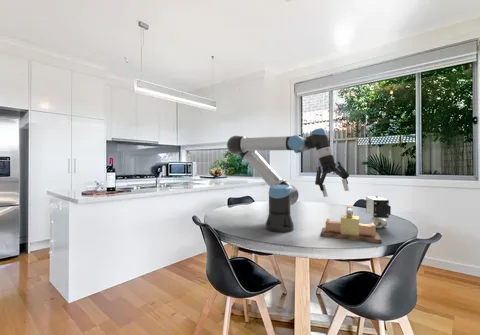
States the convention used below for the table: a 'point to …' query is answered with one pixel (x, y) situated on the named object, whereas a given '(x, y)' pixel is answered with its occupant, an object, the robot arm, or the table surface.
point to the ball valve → (378, 210)
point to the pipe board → (350, 237)
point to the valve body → (350, 226)
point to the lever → (349, 210)
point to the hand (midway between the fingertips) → (336, 193)
